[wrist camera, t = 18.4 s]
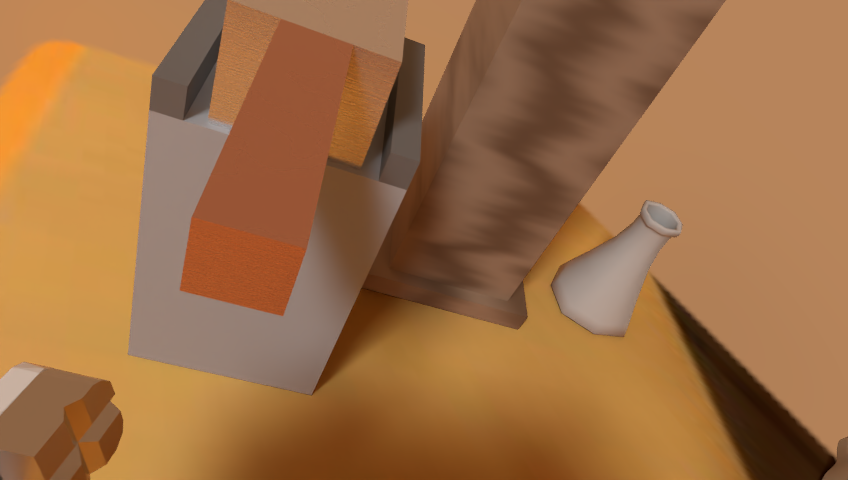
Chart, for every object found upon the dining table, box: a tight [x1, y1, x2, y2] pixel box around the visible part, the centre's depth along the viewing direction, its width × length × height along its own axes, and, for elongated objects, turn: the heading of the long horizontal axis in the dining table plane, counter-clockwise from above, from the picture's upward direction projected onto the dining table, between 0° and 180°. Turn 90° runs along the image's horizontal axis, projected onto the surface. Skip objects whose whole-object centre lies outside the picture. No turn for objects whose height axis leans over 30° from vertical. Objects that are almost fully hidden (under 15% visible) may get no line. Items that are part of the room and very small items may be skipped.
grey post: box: [128, 0, 425, 395], centre depth 32 cm, size 10×10×18 cm
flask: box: [551, 200, 682, 337], centre depth 47 cm, size 7×7×10 cm
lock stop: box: [180, 0, 408, 316], centre depth 21 cm, size 6×17×5 cm, turn 179°
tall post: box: [362, 0, 725, 329], centre depth 39 cm, size 12×12×28 cm
